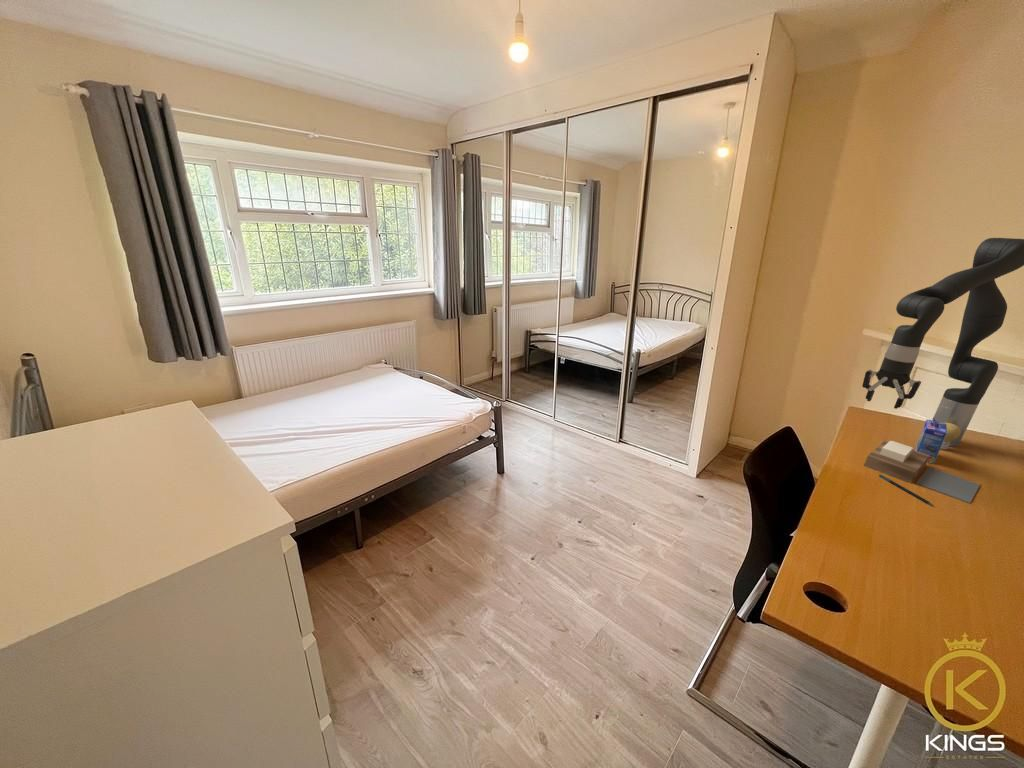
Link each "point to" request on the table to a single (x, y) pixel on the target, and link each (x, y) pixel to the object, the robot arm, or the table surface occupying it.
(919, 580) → the table surface
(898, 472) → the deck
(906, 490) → the pen
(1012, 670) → the table surface
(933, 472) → the mat
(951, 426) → the light bulb
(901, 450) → the cream rectangular block
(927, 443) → the ink cartridge box
